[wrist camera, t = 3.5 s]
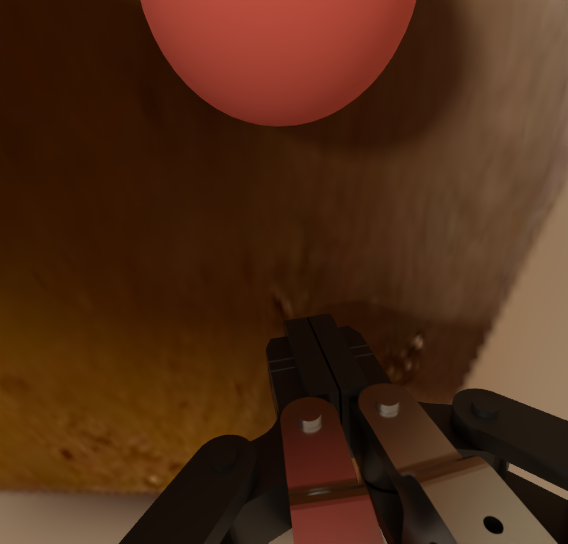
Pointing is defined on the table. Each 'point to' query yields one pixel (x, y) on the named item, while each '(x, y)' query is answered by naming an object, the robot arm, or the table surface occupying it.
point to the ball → (278, 52)
